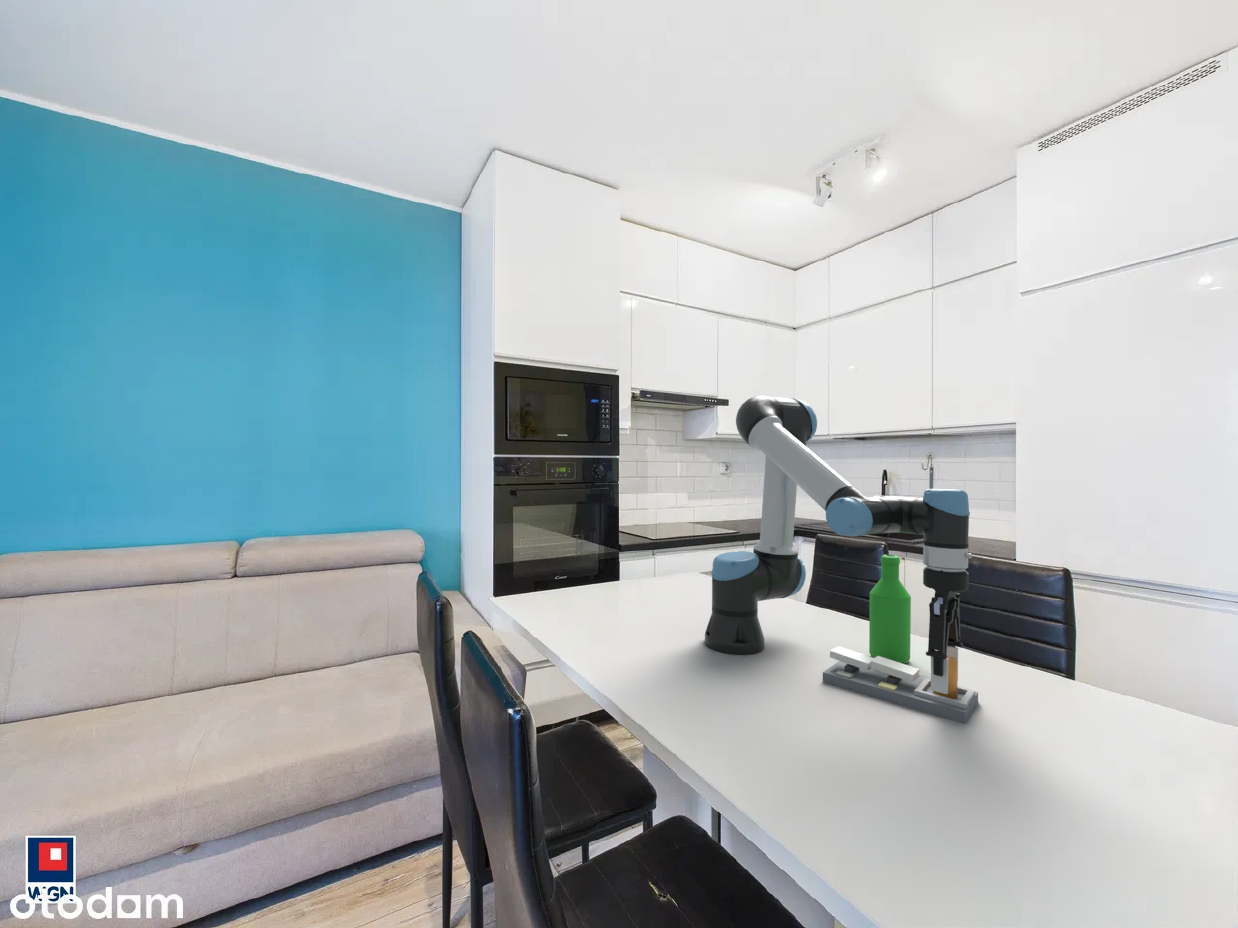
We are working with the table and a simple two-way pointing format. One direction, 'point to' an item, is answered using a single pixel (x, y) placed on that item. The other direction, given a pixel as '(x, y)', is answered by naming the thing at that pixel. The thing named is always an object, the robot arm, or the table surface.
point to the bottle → (890, 614)
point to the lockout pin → (951, 679)
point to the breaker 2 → (894, 668)
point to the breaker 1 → (851, 657)
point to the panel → (903, 691)
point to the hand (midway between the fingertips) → (944, 684)
